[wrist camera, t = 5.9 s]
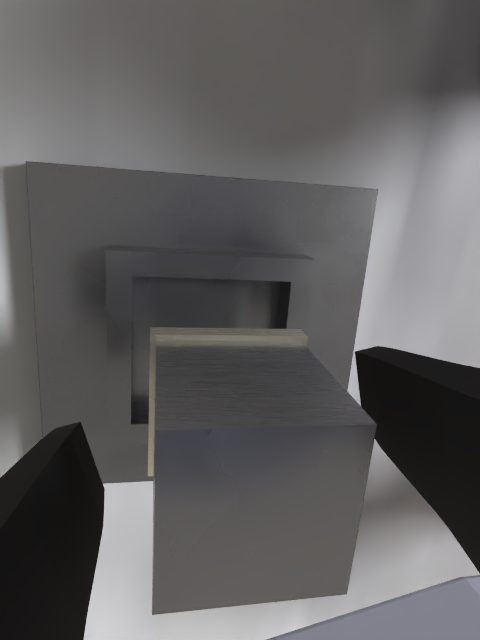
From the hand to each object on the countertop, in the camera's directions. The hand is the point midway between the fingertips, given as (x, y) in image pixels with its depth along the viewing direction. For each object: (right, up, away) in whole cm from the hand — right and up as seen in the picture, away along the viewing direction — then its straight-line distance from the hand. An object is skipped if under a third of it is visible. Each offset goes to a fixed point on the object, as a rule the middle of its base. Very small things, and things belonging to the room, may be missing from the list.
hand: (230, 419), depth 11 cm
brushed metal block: (0, 0, +1) cm, 2 cm away
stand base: (-1, +2, +6) cm, 7 cm away
